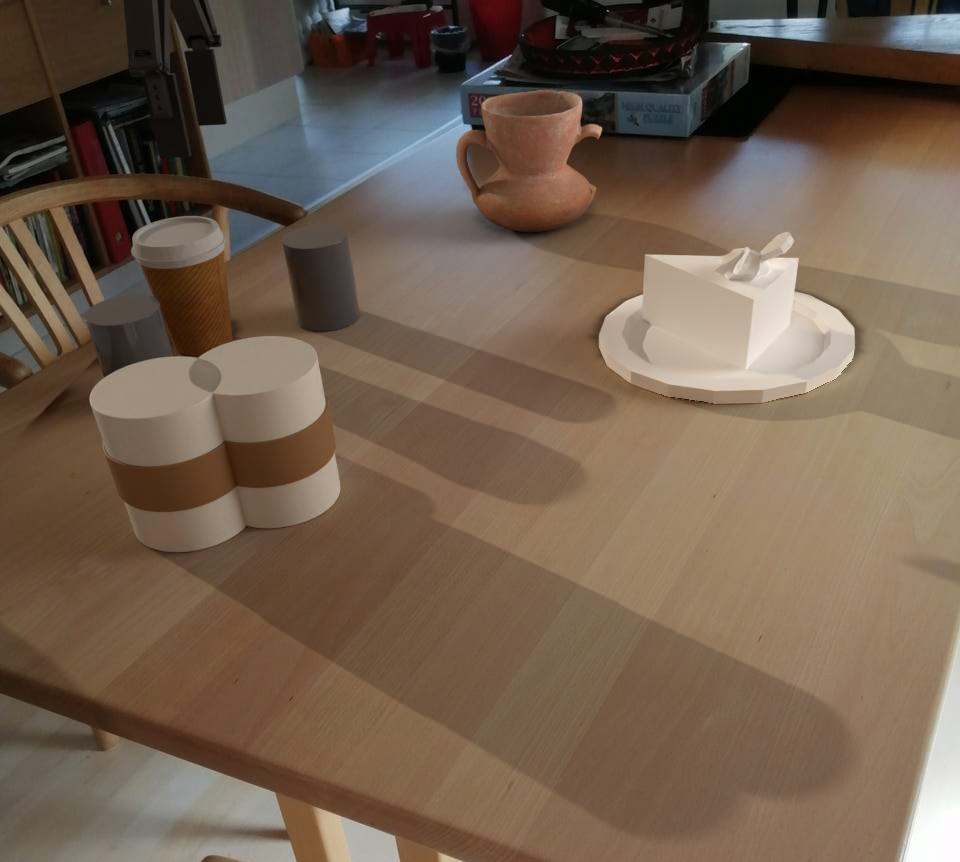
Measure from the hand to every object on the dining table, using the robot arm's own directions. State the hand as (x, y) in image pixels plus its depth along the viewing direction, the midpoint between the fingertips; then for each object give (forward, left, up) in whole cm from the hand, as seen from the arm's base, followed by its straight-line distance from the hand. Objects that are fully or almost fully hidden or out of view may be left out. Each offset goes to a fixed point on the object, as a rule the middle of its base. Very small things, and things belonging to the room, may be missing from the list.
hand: (195, 140), depth 98 cm
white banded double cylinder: (+11, -30, -20) cm, 38 cm away
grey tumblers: (+1, -3, -20) cm, 21 cm away
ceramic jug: (+26, +37, -21) cm, 49 cm away
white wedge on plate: (+51, +3, -21) cm, 55 cm away
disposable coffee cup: (-4, 0, -21) cm, 21 cm away
